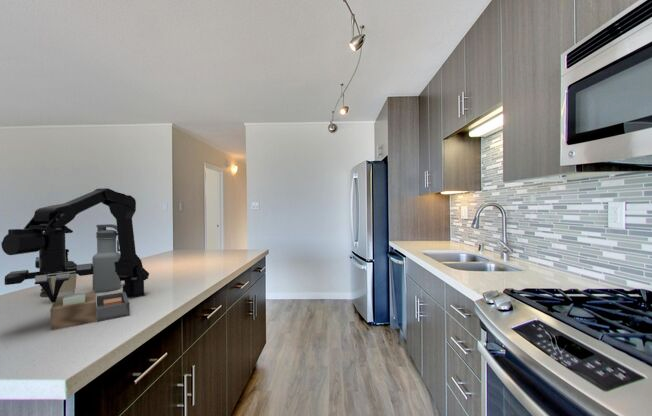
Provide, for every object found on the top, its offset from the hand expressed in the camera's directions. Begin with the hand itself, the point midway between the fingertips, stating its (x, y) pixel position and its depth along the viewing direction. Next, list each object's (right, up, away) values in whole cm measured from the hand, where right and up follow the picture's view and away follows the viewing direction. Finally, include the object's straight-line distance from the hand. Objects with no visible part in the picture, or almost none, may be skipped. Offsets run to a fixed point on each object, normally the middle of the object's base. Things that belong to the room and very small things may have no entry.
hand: (53, 302), depth 86 cm
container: (-31, -8, +33) cm, 46 cm away
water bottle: (-14, -7, +39) cm, 42 cm away
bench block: (+2, -7, +6) cm, 9 cm away
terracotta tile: (+7, -4, +14) cm, 17 cm away
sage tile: (+4, -1, +3) cm, 5 cm away
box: (+9, -7, +11) cm, 16 cm away
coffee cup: (-19, -8, +24) cm, 31 cm away
